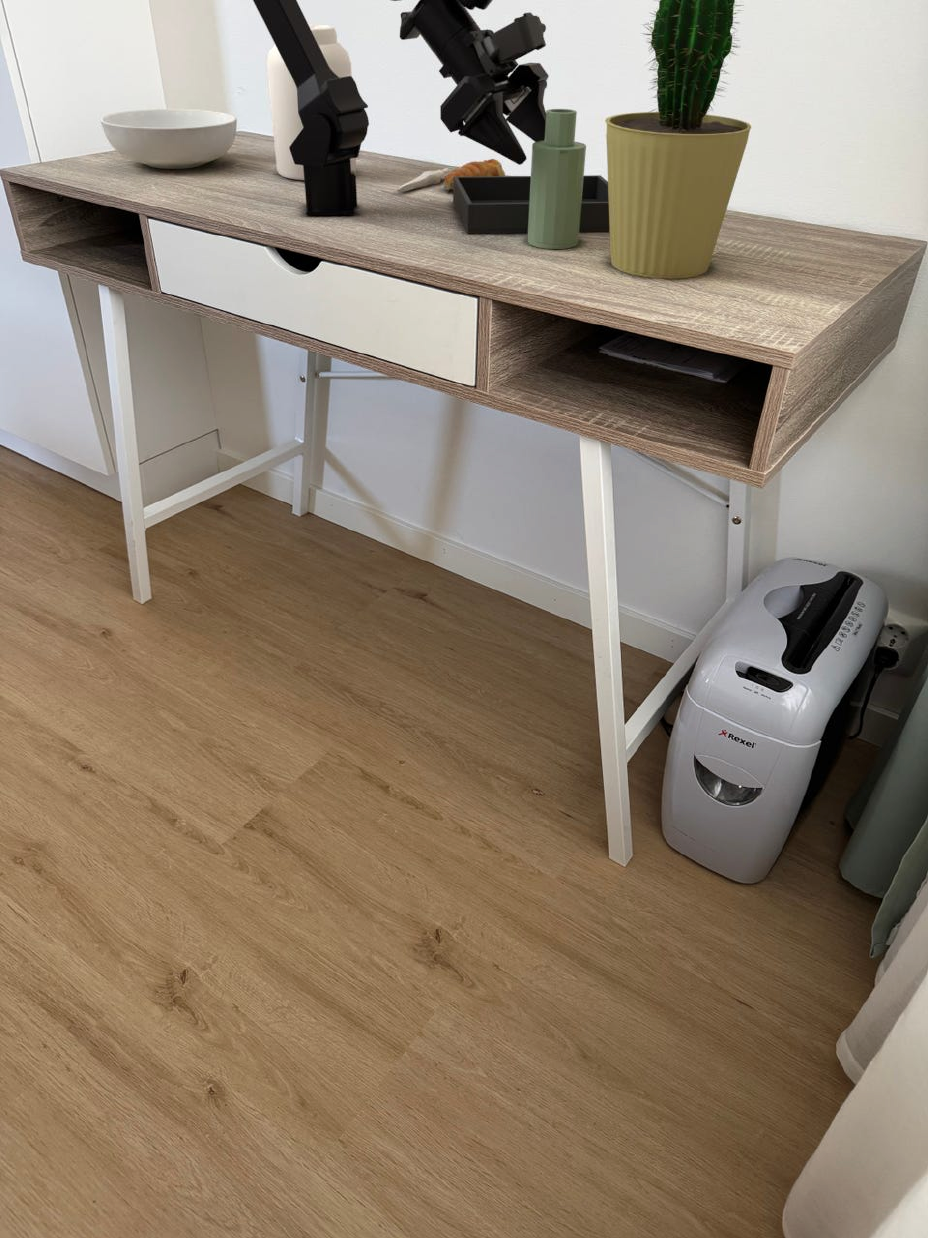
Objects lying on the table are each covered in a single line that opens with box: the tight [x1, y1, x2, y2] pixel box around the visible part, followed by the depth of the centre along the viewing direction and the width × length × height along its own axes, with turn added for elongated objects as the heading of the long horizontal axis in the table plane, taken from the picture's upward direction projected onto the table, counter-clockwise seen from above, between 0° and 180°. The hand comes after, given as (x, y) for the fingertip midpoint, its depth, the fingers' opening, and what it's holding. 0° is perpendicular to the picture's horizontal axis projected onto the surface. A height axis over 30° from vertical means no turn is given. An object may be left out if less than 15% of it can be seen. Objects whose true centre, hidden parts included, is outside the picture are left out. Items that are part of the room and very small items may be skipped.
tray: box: [452, 174, 610, 235], centre depth 125 cm, size 21×17×4 cm
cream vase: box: [266, 23, 357, 182], centre depth 141 cm, size 12×12×20 cm
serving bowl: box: [100, 108, 238, 170], centre depth 150 cm, size 21×21×7 cm
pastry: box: [443, 158, 506, 190], centre depth 138 cm, size 9×7×4 cm
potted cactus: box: [604, 0, 752, 279], centre depth 99 cm, size 15×15×30 cm
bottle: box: [527, 108, 587, 250], centre depth 111 cm, size 6×6×14 cm
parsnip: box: [397, 167, 450, 192], centre depth 141 cm, size 15×3×2 cm, turn 152°
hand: (539, 155), depth 110 cm, fingers open, 9 cm apart
